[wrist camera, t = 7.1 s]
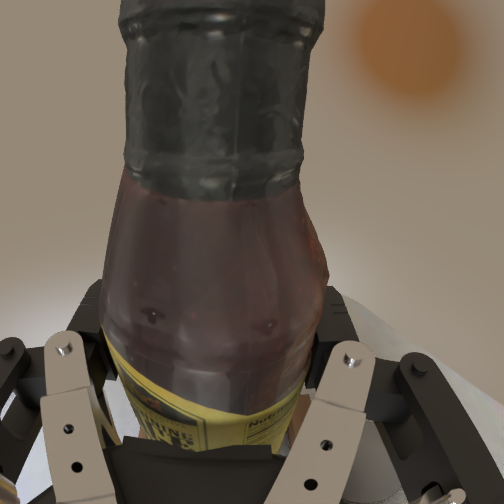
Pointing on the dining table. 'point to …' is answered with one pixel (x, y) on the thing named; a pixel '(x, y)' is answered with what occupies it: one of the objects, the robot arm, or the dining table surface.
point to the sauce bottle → (214, 221)
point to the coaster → (371, 470)
